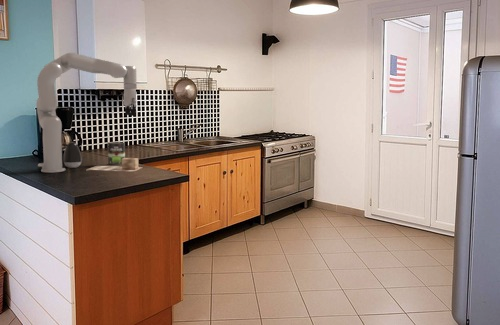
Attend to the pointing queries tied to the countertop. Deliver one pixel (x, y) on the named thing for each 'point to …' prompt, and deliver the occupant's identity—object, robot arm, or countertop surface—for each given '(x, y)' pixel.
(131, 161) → the sanding block
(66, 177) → the countertop surface
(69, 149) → the grey egg shaped speaker
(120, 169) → the board
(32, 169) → the countertop surface
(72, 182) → the countertop surface
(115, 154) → the coffee can
